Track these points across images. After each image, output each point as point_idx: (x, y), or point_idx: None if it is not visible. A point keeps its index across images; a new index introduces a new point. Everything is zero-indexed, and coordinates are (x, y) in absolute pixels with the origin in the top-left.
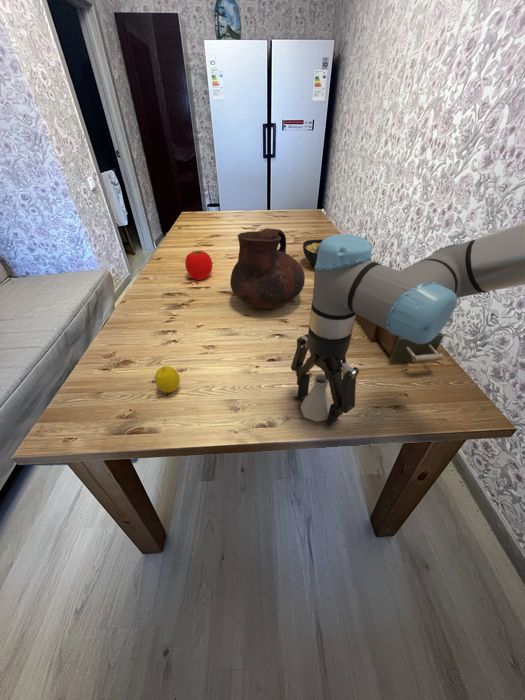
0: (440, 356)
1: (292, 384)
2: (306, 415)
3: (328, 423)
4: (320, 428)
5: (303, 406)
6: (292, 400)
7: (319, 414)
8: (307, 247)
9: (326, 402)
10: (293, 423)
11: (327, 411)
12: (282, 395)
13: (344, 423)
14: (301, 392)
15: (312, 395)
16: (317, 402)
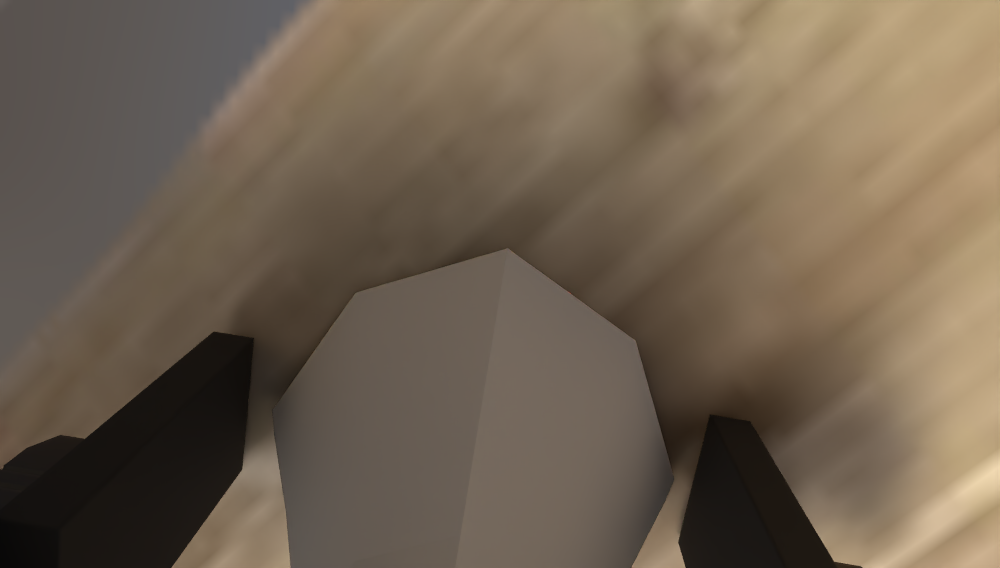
0: None
1: (926, 554)
2: (482, 272)
3: (209, 349)
4: (273, 254)
5: (586, 349)
6: (777, 359)
7: (339, 372)
8: None
9: (293, 560)
10: (553, 88)
11: (281, 469)
12: (931, 339)
13: None
14: (733, 502)
15: (484, 522)
16: (375, 472)
